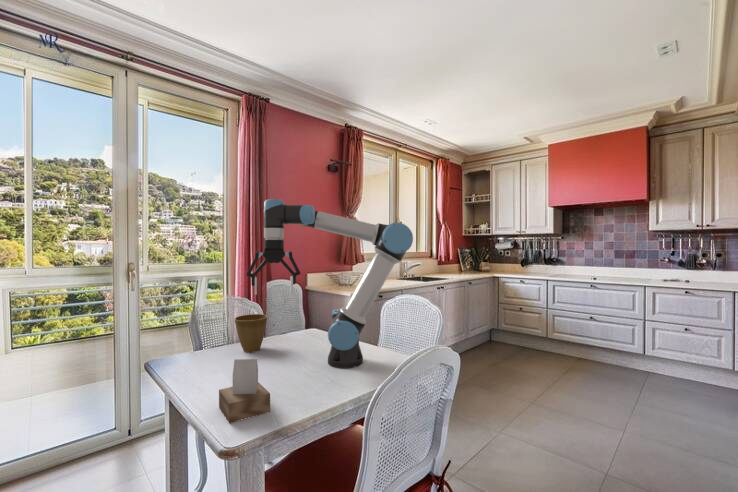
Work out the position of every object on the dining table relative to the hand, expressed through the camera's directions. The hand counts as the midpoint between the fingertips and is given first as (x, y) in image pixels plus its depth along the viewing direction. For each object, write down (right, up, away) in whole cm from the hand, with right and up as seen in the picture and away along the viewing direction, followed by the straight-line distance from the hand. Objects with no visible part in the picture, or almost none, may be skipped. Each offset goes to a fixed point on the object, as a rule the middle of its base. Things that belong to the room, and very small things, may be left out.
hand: (274, 293), depth 140 cm
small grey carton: (-1, -27, -30) cm, 40 cm away
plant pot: (-19, -32, +32) cm, 49 cm away
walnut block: (-1, -32, -29) cm, 44 cm away
